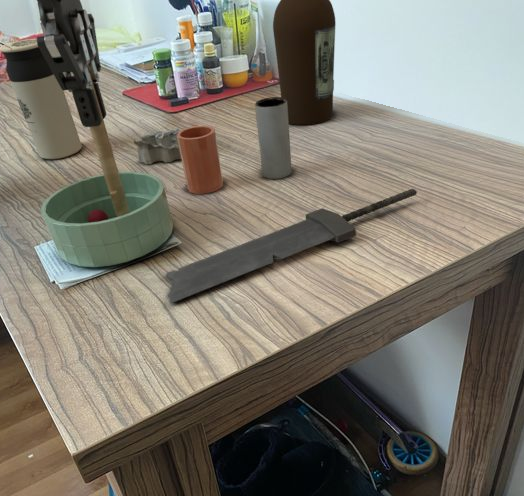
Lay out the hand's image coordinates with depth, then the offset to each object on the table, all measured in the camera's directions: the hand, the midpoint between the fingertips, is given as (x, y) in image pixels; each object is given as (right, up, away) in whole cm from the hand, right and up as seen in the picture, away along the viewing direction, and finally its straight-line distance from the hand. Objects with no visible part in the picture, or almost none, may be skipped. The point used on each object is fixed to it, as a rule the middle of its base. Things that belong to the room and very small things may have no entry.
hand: (95, 121), depth 59 cm
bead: (-3, -9, +9) cm, 13 cm away
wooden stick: (+1, -10, +9) cm, 13 cm away
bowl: (0, -12, +8) cm, 14 cm away
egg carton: (+4, +7, +30) cm, 31 cm away
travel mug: (-19, +11, +37) cm, 43 cm away
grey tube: (+22, +1, +19) cm, 29 cm away
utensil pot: (+11, -2, +18) cm, 21 cm away
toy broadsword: (+24, -14, +3) cm, 28 cm away
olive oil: (+28, +18, +38) cm, 50 cm away
